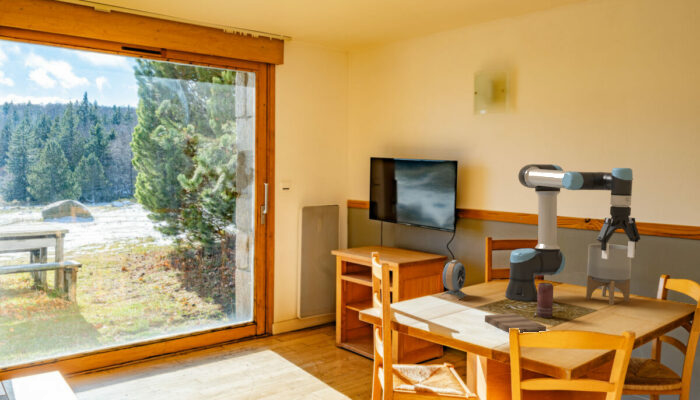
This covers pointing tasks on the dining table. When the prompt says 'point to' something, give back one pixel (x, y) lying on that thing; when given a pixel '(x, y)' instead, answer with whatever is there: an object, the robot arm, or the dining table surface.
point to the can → (545, 300)
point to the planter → (608, 271)
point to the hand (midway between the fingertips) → (618, 258)
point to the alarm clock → (454, 280)
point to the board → (514, 322)
